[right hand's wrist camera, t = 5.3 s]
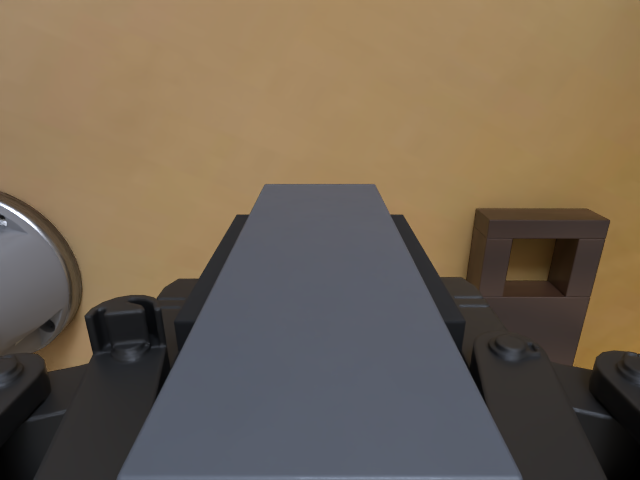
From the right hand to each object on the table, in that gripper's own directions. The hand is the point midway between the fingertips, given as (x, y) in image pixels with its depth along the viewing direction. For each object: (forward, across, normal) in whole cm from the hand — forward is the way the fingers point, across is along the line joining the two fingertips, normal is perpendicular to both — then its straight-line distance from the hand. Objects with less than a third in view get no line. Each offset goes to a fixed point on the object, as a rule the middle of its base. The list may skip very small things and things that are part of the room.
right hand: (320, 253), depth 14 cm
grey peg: (+2, 0, 0) cm, 2 cm away
